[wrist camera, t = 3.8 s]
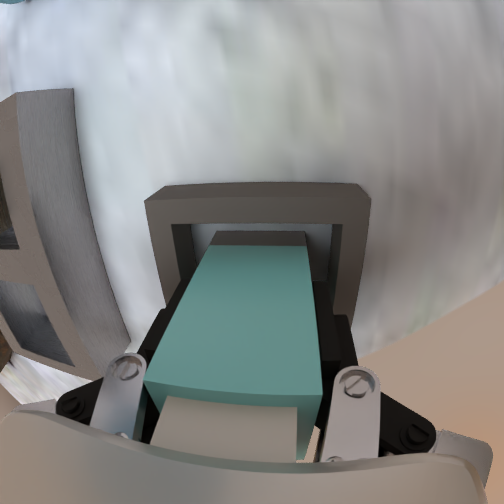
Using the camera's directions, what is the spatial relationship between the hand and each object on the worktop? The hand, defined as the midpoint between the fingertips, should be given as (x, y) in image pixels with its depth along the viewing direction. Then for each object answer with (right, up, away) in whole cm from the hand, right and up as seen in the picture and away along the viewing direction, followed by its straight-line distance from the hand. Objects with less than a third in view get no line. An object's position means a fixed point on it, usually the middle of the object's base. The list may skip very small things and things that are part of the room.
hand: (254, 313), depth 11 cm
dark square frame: (0, +2, +3) cm, 3 cm away
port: (-14, +3, +4) cm, 15 cm away
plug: (0, +2, +3) cm, 3 cm away
